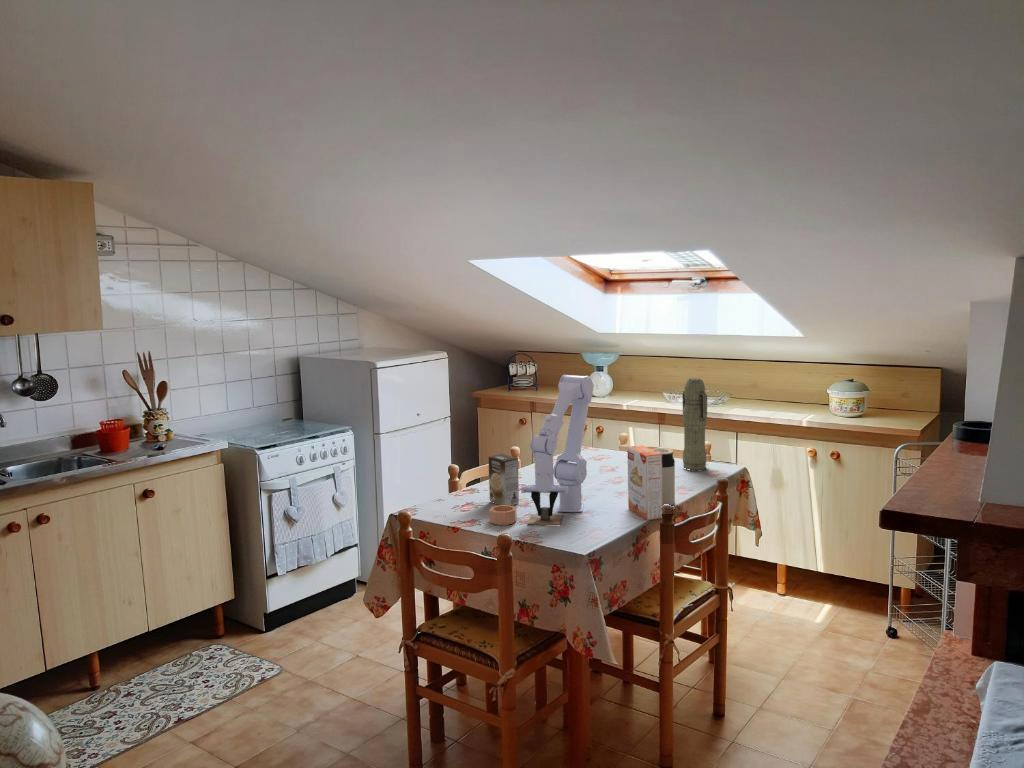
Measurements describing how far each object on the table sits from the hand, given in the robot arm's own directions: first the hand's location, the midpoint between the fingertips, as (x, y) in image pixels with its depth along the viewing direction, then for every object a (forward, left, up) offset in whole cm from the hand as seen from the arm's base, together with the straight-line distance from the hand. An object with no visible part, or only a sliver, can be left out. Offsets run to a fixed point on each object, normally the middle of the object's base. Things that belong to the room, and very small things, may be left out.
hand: (545, 515), depth 255 cm
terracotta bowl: (+2, -13, -2) cm, 13 cm away
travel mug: (-21, +37, -2) cm, 43 cm away
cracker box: (-9, +31, -2) cm, 32 cm away
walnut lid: (0, 0, -2) cm, 2 cm away
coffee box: (-19, -16, -2) cm, 25 cm away
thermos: (-70, +51, -2) cm, 87 cm away
